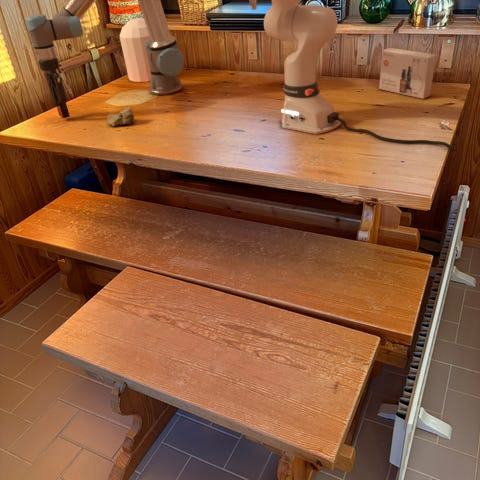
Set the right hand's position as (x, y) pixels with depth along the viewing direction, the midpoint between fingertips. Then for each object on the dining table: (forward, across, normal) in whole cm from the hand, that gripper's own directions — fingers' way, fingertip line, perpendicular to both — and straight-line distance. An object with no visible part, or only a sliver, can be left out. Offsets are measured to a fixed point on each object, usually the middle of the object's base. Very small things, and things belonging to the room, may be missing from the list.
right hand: (253, 7), depth 187 cm
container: (+34, -45, -54) cm, 78 cm away
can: (+33, +12, -83) cm, 90 cm away
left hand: (+32, +12, -83) cm, 90 cm away
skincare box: (+34, +22, +58) cm, 70 cm away
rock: (+34, +23, -58) cm, 71 cm away
